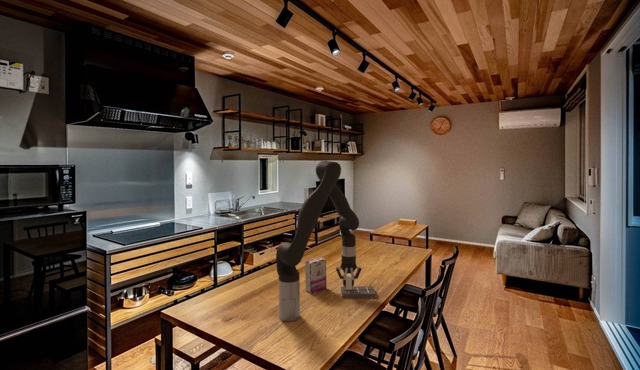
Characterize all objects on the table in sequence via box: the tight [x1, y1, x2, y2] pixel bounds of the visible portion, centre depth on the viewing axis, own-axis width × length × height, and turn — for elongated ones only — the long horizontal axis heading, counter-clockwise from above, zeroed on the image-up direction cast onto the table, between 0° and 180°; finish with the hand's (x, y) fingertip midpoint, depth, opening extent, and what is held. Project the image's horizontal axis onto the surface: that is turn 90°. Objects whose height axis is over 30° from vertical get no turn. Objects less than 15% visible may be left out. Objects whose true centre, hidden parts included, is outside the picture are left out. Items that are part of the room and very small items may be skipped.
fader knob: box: [345, 274, 352, 290], centre depth 173 cm, size 4×3×7 cm
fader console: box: [340, 285, 377, 299], centre depth 174 cm, size 10×17×2 cm, turn 91°
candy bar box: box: [304, 256, 327, 294], centre depth 179 cm, size 11×5×16 cm, turn 129°
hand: (348, 286), depth 173 cm, fingers closed on fader knob, 3 cm apart
